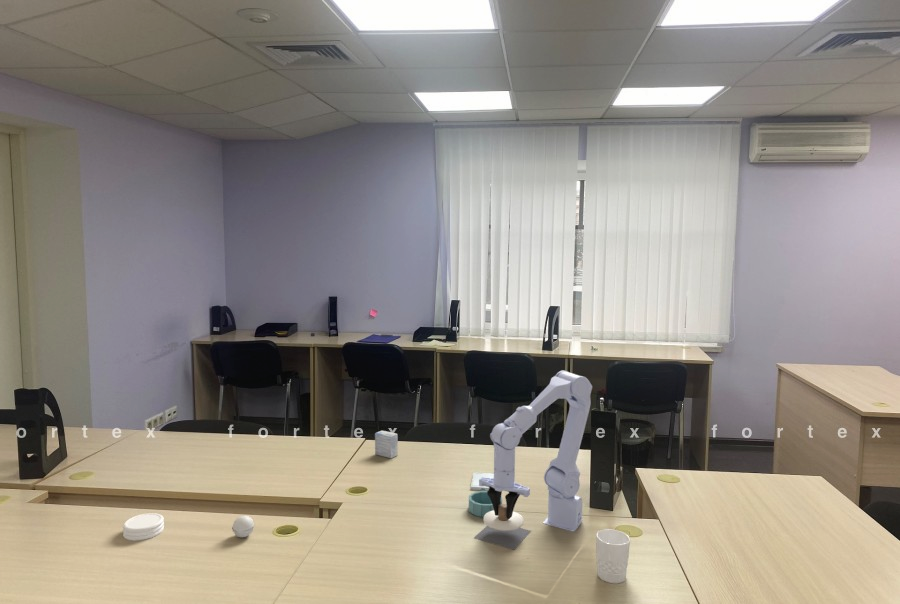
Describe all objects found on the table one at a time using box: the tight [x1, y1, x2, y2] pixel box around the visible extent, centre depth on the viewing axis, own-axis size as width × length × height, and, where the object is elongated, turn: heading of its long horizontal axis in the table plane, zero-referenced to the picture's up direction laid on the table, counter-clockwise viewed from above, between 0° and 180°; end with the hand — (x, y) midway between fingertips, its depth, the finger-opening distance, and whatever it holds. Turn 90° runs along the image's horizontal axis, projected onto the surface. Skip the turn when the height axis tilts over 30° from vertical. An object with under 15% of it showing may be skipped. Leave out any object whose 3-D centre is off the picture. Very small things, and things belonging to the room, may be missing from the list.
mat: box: [473, 525, 532, 551], centre depth 159 cm, size 12×12×1 cm
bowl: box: [468, 490, 503, 518], centre depth 174 cm, size 10×10×4 cm
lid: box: [483, 503, 525, 531], centre depth 158 cm, size 11×11×4 cm
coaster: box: [122, 512, 165, 542], centre depth 158 cm, size 10×10×4 cm
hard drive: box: [470, 472, 494, 491], centre depth 195 cm, size 2×8×12 cm
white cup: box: [595, 528, 631, 584], centre depth 140 cm, size 8×8×10 cm
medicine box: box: [374, 430, 399, 459], centre depth 220 cm, size 8×4×9 cm, turn 58°
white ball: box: [231, 515, 255, 538], centre depth 156 cm, size 8×6×6 cm
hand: (503, 515), depth 158 cm, fingers closed on lid, 3 cm apart
